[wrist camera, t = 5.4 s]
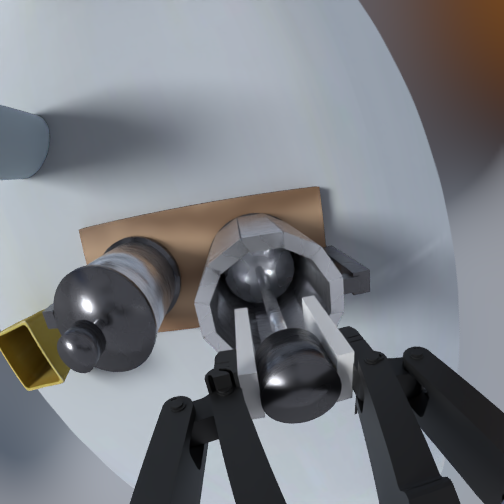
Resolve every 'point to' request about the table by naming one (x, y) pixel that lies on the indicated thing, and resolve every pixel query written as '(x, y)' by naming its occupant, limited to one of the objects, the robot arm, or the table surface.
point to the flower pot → (33, 352)
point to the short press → (115, 306)
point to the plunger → (284, 343)
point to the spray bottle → (21, 143)
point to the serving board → (204, 236)
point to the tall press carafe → (290, 302)
